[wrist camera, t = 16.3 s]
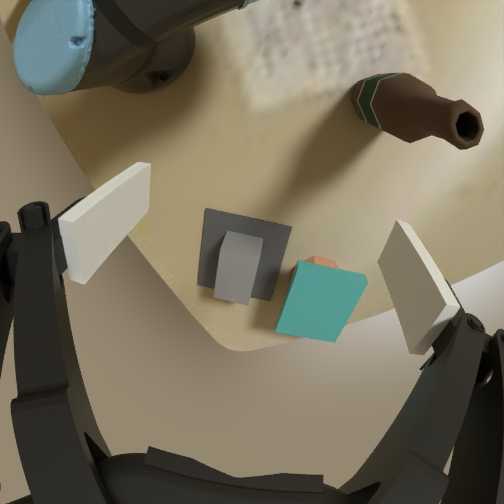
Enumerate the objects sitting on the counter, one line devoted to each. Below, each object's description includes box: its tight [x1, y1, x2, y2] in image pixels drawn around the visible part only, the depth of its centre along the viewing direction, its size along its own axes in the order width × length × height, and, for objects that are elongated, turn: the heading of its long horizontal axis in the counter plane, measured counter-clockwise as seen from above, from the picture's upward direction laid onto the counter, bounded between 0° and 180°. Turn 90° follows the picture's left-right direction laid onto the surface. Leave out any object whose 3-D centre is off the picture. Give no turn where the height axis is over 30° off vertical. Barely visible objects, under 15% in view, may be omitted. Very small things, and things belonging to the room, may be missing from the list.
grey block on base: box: [198, 208, 292, 305], centre depth 49 cm, size 14×16×6 cm
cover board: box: [275, 260, 368, 342], centre depth 46 cm, size 11×14×2 cm
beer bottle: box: [351, 73, 484, 150], centre depth 24 cm, size 8×8×24 cm
